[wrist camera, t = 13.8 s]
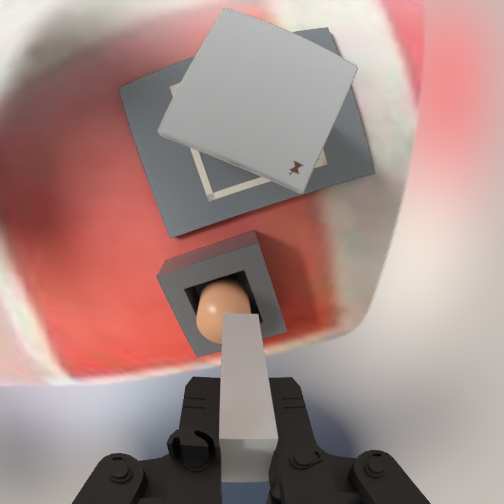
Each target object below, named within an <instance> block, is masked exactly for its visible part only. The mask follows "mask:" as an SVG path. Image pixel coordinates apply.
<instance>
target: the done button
mask: <svg viewBox="0 0 504 504" xmlns="http://www.w3.org/2000/svg"><path fill="white" fill-rule="evenodd" d="M223 313H241V314H251V310H250V302H249V294H248V291H247V289H246V287H245V286H244V285H243V284H242V283H241V282H240V281H239V280H237V279H235V278H232V277H226V276H223V277H220V278H217V279H214V280H211V281H209V282H208V283H207V284H206V285H205V286H204V287H203V289H202V292H201V296H200V301H199V307H198V312H197V317H196V323H197V327H198V329H199V331H200V333H201V334H202V335H203V336H204V337H205V338H207V339H208V340H210V341H212V342H215V343H219V344H222V330H223Z"/></svg>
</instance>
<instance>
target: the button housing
mask: <svg viewBox="0 0 504 504" xmlns="http://www.w3.org/2000/svg"><path fill="white" fill-rule="evenodd" d="M223 276H226V277H232V278H235V279H237V280H239V281H240V282H241V283H242V284H243V285H244V286H245V287H246V289H247V291H248V294H249V302H250V310H251V314H258V316H259V322H260V329H261V335H262V339H266V338H269V337H272V336H276V335H279V334H282V333H285V332H287V328H286V325H285V322H284V319H283V315H282V312H281V309H280V306H279V303H278V300H277V297H276V293H275V290H274V287H273V284H272V281H271V278H270V275H269V272H268V269H267V266H266V263H265V260H264V257H263V254H262V250H261V247H260V244H259V241H258V238H257V235H256V232H255V230H254V231H251V232H248V233H245V234H242V235H239V236H236V237H233V238H230V239H227V240H224V241H221V242H218V243H215V244H212V245H209V246H206V247H203V248H200V249H197V250H194V251H191V252H188V253H185V254H182V255H179V256H176V257H173V258H171V259H168V260H166V261H165V262H164V264H163V266H162V268H161V269H160V271H159V273H158V275H157V279H158V281H159V283H160V285H161V288H162V290H163V292H164V294H165V296H166V298H167V300H168V302H169V304H170V306H171V308H172V310H173V312H174V314H175V316H176V318H177V320H178V322H179V324H180V326H181V328H182V330H183V332H184V334H185V336H186V338H187V340H188V342H189V344H190V345H191V347H192V349H193V351H194V353H195V355H196V357H201V356H205V355H209V354H213V353H216V352H220V351H222V344H219V343H215V342H212V341H210V340H208V339H207V338H205V337H204V336H203V335H202V334H201V333H200V331H199V329H198V327H197V323H196V317H197V312H198V307H199V301H200V296H201V292H202V289H203V287H204V286H205V285H206V284H207V283H208V282H209V281H211V280H214V279H217V278H220V277H223Z"/></svg>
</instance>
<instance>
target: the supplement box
mask: <svg viewBox="0 0 504 504" xmlns="http://www.w3.org/2000/svg"><path fill="white" fill-rule="evenodd" d="M357 70H358V67H357V66H356V65H354V64H353V63H351V62H349V61H347V60H346V59H344V58H342V57H340V56H338V55H337V54H335V53H333V52H331V51H329V50H327V49H325V48H323V47H321V46H319V45H317V44H315V43H313V42H311V41H309V40H307V39H305V38H303V37H301V36H299V35H296V34H294V33H292V32H290V31H287V30H285V29H283V28H280V27H278V26H275V25H273V24H270V23H268V22H265V21H263V20H260V19H257V18H255V17H252V16H249V15H246V14H243V13H240V12H237V11H234V10H231V9H228V8H223V10H222V12H221V14H220V15H219V17H218V18H217V20H216V22H215V23H214V25H213V27H212V28H211V30H210V32H209V34H208V35H207V37H206V39H205V40H204V42H203V44H202V45H201V47H200V49H199V50H198V52H197V54H196V55H195V57H194V59H193V61H192V62H191V64H190V66H189V68H188V70H187V72H186V73H185V75H184V77H183V79H182V81H181V83H180V85H179V87H178V89H177V90H176V92H175V94H174V96H173V98H172V100H171V102H170V104H169V106H168V109H167V111H166V113H165V115H164V117H163V119H162V121H161V123H160V125H159V128H158V134H159V135H160V136H162V137H165V138H167V139H170V140H172V141H175V142H177V143H180V144H182V145H185V146H187V147H190V148H192V149H195V150H197V151H200V152H202V153H205V154H207V155H210V156H212V157H215V158H217V159H220V160H222V161H224V162H227V163H229V164H232V165H234V166H237V167H239V168H241V169H244V170H246V171H249V172H251V173H253V174H256V175H258V176H261V177H263V178H265V179H268V180H270V181H272V182H275V183H277V184H279V185H281V186H284V187H286V188H288V189H290V190H292V191H295V192H297V193H299V194H303V193H304V190H305V188H306V186H307V183H308V181H309V179H310V177H311V175H312V172H313V170H314V168H315V166H316V163H317V161H318V159H319V156H320V154H321V152H322V150H323V147H324V145H325V143H326V140H327V138H328V136H329V134H330V131H331V129H332V127H333V124H334V122H335V120H336V117H337V115H338V113H339V111H340V108H341V106H342V104H343V102H344V99H345V97H346V95H347V93H348V91H349V88H350V86H351V84H352V81H353V79H354V77H355V74H356V72H357Z"/></svg>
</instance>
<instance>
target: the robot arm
mask: <svg viewBox="0 0 504 504" xmlns="http://www.w3.org/2000/svg"><path fill="white" fill-rule="evenodd" d="M167 446H168V450H169V454H168V455H165V456H163V457H161V458H157V459H151V460H143V461H138V460H137V459H135V458H133V457H132V456H130V455H127V454H122V453H115V454H110V455H108V456H106V457H104V458H103V459H102V460H101V461H100V462H99V463H98V464H97V466H96V467H95V469H94V471H93V472H92V474H91V475H90V477H89V478H88V480H87V481H86V483H85V484H84V486H83V487H82V489H81V490H80V492H79V493H78V495H77V496H76V498H75V500H74V501H73V503H72V504H222V492H221V491H222V486H221V485H222V484H221V483H222V482H266V481H268V478H269V482H270V490H269V494H268V497H267V502H266V504H430V502H429V501H428V500H427V499H426V497H425V496H424V495H423V494H422V493H421V492H420V490H419V489H418V488H417V486H416V485H415V484H414V483H413V482H412V481H411V479H410V478H409V477H408V475H407V474H406V473H405V472H404V471H403V469H402V468H401V467H400V466H399V464H398V463H397V462H396V461H395V460H394V458H393V457H391V456H390V455H389V454H388V453H385V452H383V451H380V450H370V451H366V452H364V453H362V454H361V455H359V456H358V458H347V457H338V456H334V455H330V454H328V453H326V452H325V451H323V450H322V449H321V448H320V447H319V446H318V445H317V443H316V441H315V439H314V435H313V431H312V428H311V424H310V420H309V417H308V413H307V409H306V408H305V402H304V399H303V395H302V391H301V388H300V386H299V385H298V384H297V383H296V381H295V380H294V379H293V378H292V377H285V378H268V372H267V366H266V360H265V354H264V347H263V341H262V335H261V329H260V322H259V316H258V314H241V313H223V330H222V354H221V378H209V377H192V379H191V380H190V381H189V383H188V384H187V385H186V387H185V393H184V399H183V407H182V412H181V419H180V426H179V430H176V431H175V432H174V433H173V434H172V435H170V437H169V439H168V442H167Z"/></svg>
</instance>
